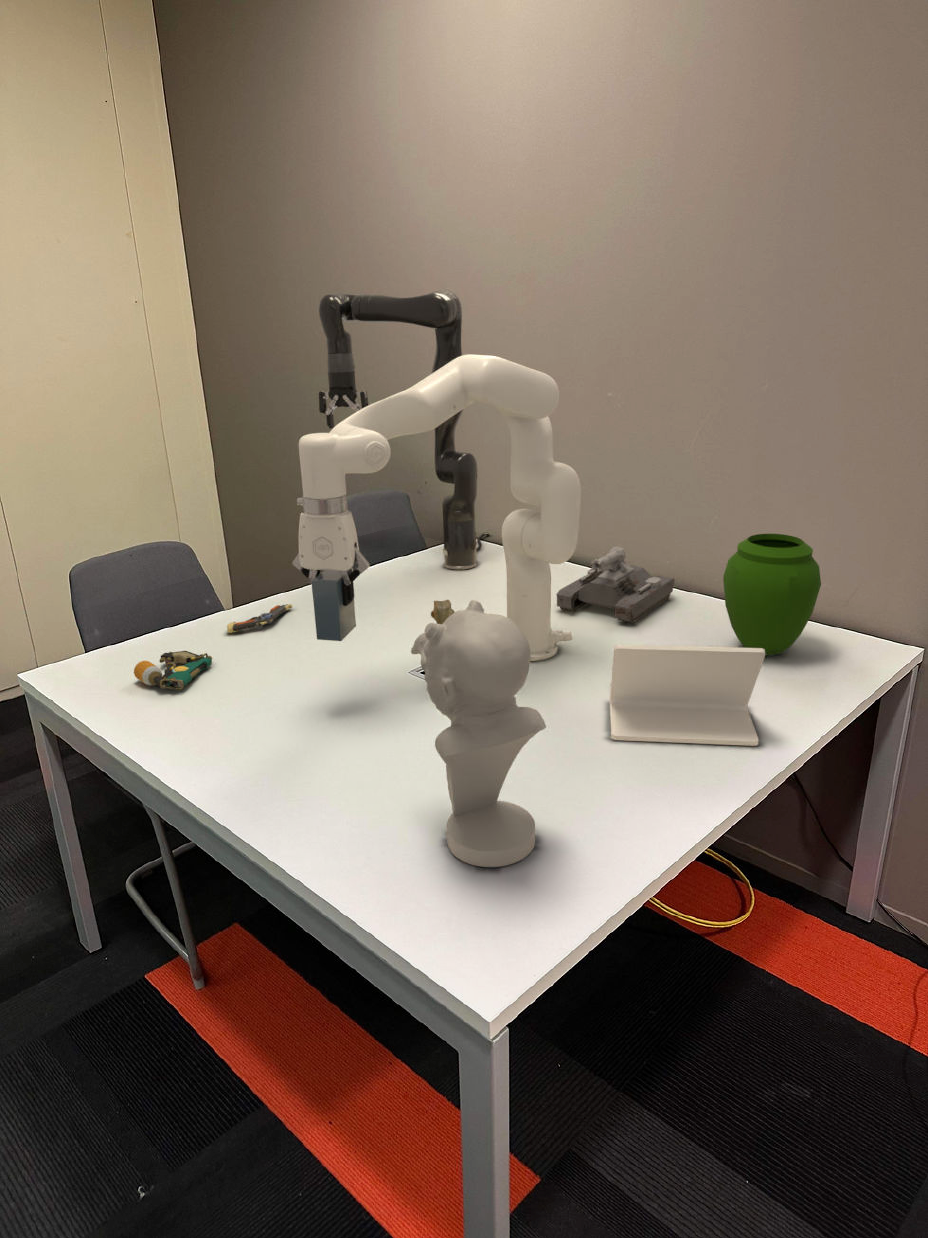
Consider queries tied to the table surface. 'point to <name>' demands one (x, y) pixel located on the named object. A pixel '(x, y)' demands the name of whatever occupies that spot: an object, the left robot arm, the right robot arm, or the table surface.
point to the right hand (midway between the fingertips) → (334, 601)
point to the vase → (771, 590)
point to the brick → (331, 607)
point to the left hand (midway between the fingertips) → (345, 428)
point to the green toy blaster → (172, 669)
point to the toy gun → (258, 619)
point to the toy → (616, 588)
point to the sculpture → (441, 611)
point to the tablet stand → (683, 694)
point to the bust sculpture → (481, 729)
